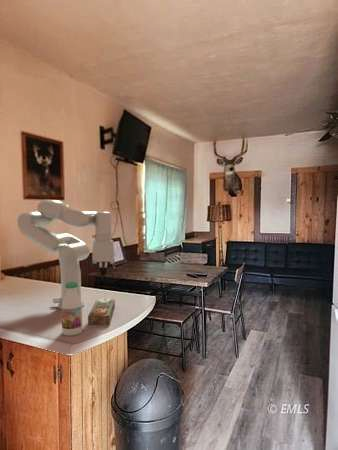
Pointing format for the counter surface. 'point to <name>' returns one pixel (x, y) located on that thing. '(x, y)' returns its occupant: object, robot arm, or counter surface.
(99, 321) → the button board
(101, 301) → the button two
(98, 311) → the button three
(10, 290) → the counter surface
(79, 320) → the milk bottle
